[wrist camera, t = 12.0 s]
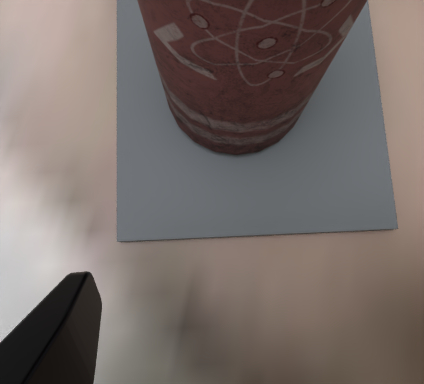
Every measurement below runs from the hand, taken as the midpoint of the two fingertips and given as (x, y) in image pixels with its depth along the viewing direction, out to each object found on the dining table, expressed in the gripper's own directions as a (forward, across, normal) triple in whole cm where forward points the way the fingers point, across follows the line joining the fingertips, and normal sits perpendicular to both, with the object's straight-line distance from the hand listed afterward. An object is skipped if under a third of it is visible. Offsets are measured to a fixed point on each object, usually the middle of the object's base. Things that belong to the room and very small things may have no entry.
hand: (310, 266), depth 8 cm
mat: (+12, 0, 0) cm, 12 cm away
